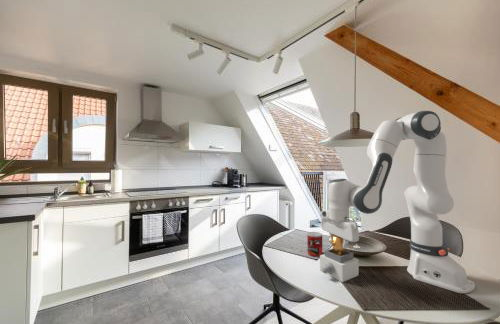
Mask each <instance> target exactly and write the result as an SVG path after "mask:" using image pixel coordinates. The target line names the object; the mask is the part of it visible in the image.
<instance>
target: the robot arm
mask: <svg viewBox="0 0 500 324" xmlns="http://www.w3.org/2000/svg"><path fill="white" fill-rule="evenodd" d="M441 128H442V127H441V119H440V117H439V115H438V114H437V113H436V112H434V111H433V110H432V111H431V110H421V111H418V112H417V111H416V112H412V113H411V112H410V113H409V114H406V115H404V116H401V117H399V118H396V119H386V120H384V121H382V122H381V123H380V124H379V125H378V127H377V128H376V130H375V131H374V133H373V135H372V137H371V139H370V141H369V142H368V145H367V148H366V155H367V158H368V159H369V161H370V162H371V164H372V166H371V167H372V168H371V171H370V173H369V176H368V179H367V181H366V184H365V185H364V186H361V185H359V184H358V185H357V184H355V183H353V182H351V181H349V180H348V179H347V178H337V179H333V180H331V181H330V182H329V185H328V191H327V193H328V194H327V199H328V205H327V206H328V209H326V210H322V211H320V215H321V219H320V227H321V229H322V231H325V232H326V233H328V234H329V238H330V240H332V241H333V235H336V236H338V237H341V238H343V241H344V242H343V244H341V245H342V246H341V247H342V248H344V249H345V250H346V249H347V248H348V244H349V242H350V243H355V242H358V241H359V240H360V234H359V233H360V232H359V227H358V223H357V222H356V221H355V219H354V218H350V207H353V208H355V209H357V210H358V211H360V213H363V214H366V215H367V214H368V215H369V214H370V215H371V214H373V213H376V212H377V211H378V210H379V209H380V208H381V206H382V203H383V191H384V188H385V185H386V183H387V180H388V176H389V175H390V171H391V168H392V166H393V160H394V157H395V155H396V153H397V151H398V147H399V145H400V143H401V141H404V140H413V141H414V144H415V149H414V155H413V158H414V159H413V170H412V171H413V174H414V176H415V181H416V185H411V186H408V187H407V188H406V189H405V190H404V193H403V196H404V197H403V198H404V201H405V202H406V207H407V210H408V214H409V219H410V235H411V236H410V240H409V251H410V255H409V257H410V258H409V262H408V265H407V269H406V271H407V272H408V273H409V274H410V275H411V276H412V278H413V279H414V280H416V281H419V282H423V283H426V284H429V285H433V286H436V287H438V288H442V289H445V290H447V291H452V292H455V293H457V294H467V293H468V294H469V293H471V292H473V291H475V289H476V284H475V282H474V281H472V280H471V279H468V274H467V271H466V268H464V267H463V266H462V265H461V264H460V263H458V262H457V260H455V259H454V258H452V257H451V256H450V255H449V251H450V247H446V246H445V245H444V244H443V226H442V224H441V222H440V219H439V216H438V215H446V214H448V213H450V212H451V211H452V210H453V208H454V207H455V201H454V198H453V197H452V195H451V194H450V191H449V189H448V184H447V179H446V162H447V139H446V135H445V133H444V132H443V131H441V130H442V129H441Z"/></svg>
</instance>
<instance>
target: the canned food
mask: <svg viewBox="0 0 500 324" xmlns="http://www.w3.org/2000/svg"><path fill="white" fill-rule="evenodd" d="M306 239H307V254H308V255H309V256H311V257H316V256H317V257H320V255H323V233H321V232H320V231H309V232H307V238H306Z"/></svg>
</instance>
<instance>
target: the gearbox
mask: <svg viewBox="0 0 500 324" xmlns="http://www.w3.org/2000/svg"><path fill="white" fill-rule="evenodd" d="M359 264H360V263H359V258H357V257H354V252H351V251H348V250H346V249H345V255H343V256H338V255H336V254H334V253H333V247H332V248H329V249H326V250H324V254H323V253H322V255H320V256H319V271H320V272H322V273H323V274H326V275H327V276H329V277H332V278H334V279H335V280H337V281H339V282H341V283H344V282H346V281H348V280H351V279H353V278H355V277H358V276H359V273H360V272H359V270H360V269H359V267H360V266H359Z"/></svg>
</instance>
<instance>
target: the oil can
mask: <svg viewBox="0 0 500 324" xmlns="http://www.w3.org/2000/svg"><path fill="white" fill-rule="evenodd" d="M343 242H344V241H343V238H341V237H338V236H336V235H333V241H332V240H331V239H329V243H330V244H331V246H332V248H333V253H334V254H336V255H338V256H343V255H345V250H346V249H344V248H342V247H341V246H342V245H341V244H343Z"/></svg>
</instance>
